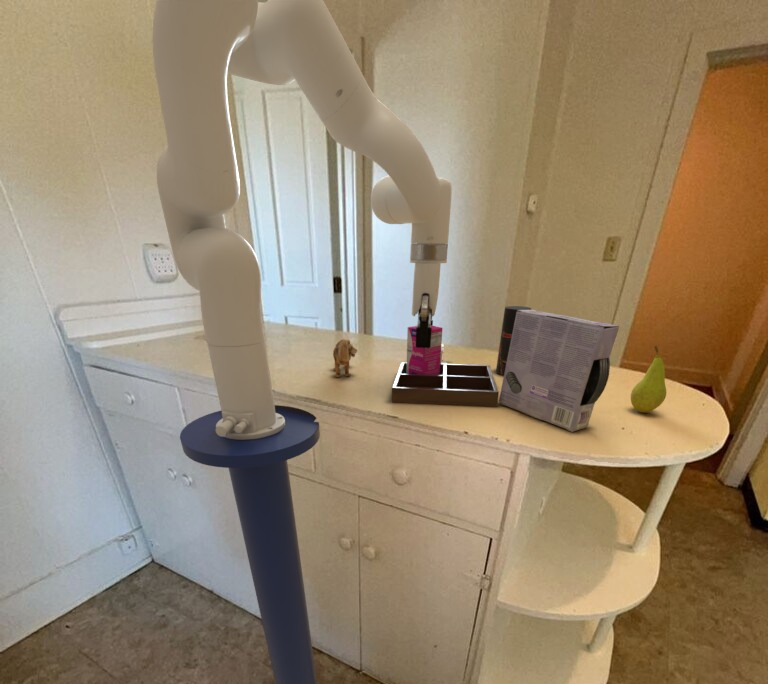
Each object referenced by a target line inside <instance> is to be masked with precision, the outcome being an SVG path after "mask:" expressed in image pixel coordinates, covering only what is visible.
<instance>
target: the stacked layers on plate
mask: <svg viewBox="0 0 768 684" xmlns="http://www.w3.org/2000/svg"><path fill="white" fill-rule="evenodd" d="M442 347H445V343H442V342H441V358H440V364H449V362H447V361H444V356H443V354H444V353H445V350H444V348H442Z"/></svg>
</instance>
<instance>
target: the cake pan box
mask: <svg viewBox="0 0 768 684" xmlns="http://www.w3.org/2000/svg"><path fill="white" fill-rule="evenodd" d="M619 329H620V327H619V325H617V324H611V323H605V322H599V321H593V320H589V319H583V318H579V317H575V316H570V315H563V314H556V313H552V312H546V311H540V310H536V309H531V310H517V313H516V318H515V323H514V328H513V333H512V338H511V343H510V348H509V353H508V358H507V363H506V368H505V373H504V375H503V379H502V384H501V388H500V389H501V390H500V392H499V393H500V394H499V397H498V402H499V403H498V404H500V405H502V406H505V407H508V408H511V409H513V410H516V411H518V412H520V413H523V415H527V416H530V417H532V418H535V419H537V420H539V421H544V422H546V423H549V424H552V425H555V426H557V427H560V428H563V429H565V430H567V431H568V432H571V433H574V432H577V431H580V430H584V429H586V428H588V427H589V423H590V420H591V417H592V413H593V410H594V407H595V404H596V403H597V401H598V400H599V399H600V398H601V396H602V394H603V392H604V391H605V389H606V386H607V384H608V381H609V377H610V370H611V361H610V357H611V353H612V351H613V348H614V344H615V342H616V338H617V336H618V332H619Z"/></svg>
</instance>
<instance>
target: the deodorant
mask: <svg viewBox="0 0 768 684" xmlns="http://www.w3.org/2000/svg"><path fill="white" fill-rule="evenodd" d="M517 310H532V308H531V307H529V306H521V305H509V306H508V305H507V306H505V307H504V312H503V318H502V324H501V325H502V326H501V331H500V332H501V333H500V340H499V347H498V354H497V361H496V367H495V374H498V375H500V376H504V373H505V368H506V363H507V358H508V353H509V348H510V343H511V338H512V333H513V328H514V323H515V318H516V313H517Z"/></svg>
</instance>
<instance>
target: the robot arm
mask: <svg viewBox="0 0 768 684" xmlns="http://www.w3.org/2000/svg"><path fill="white" fill-rule="evenodd" d="M336 23H337V22H335V20H334V18H333V16H332V14H331V12H330V11H329V9H328V7H327V5H326V3H325V2H324V0H266V1H265V2H260V1H259V0H155V7H154V11H153V19H152V55H153V64H154V72H155V78H156V84H157V90H158V95H159V101H160V108H161V113H162V114H161V115H162V118H163V124H164V128H165V135H166V143H167V145H165V147H163V149H161V152H160V154H159V156H158V159H157V163H156V184H157V190H158V195H159V200H160V204H161V209H162V212H163V217H164V220H165V221H164V222H165V225H166V230H167V234H168V238H169V243H170V246H171V250H172V254H173V258H174V262H175V264H176V268H177V269H178V271H179V274H180V275H181V276H182V278H183V279H184V280H185V282H186V283H188V285H190V287H192V288H193V289H195V290H197V291H198V292H199V300H200V311H201V320H202V325H203V331H204V336H205V341H206V344H207V345H206V346H207V348H208V355H209V359H210V362H211V368H212V373H213V378H214V382H215V386H216V387H215V388H216V391H217V396H218V401H219V405H220V411H222V416H223V418H222V419H221V420H220V421H218V423H217V424H216V433H217V435H219V436H220V437H225V438H229V439H235V440H251V439H259V438H264V437H268V436H271V435H274V434H276V433H278V432H280V431H281V430H282V429H283V428H284V427H285V419H284V417H283V416H282V415H280V414H278V413H275V405H276V404H275V399H274V392H273V385H272V379H271V370H270V364H269V356H268V349H267V342H266V341H267V340H266V336H265V329H264V322H263V321H264V319H263V312H262V311H263V310H262V309H263V308H262V275H261V268H260V263H259V259H258V257H257V254H256V252H255V250H254V248H253V247H252V245H251V244H250V243H249V242H248V241H247V240H246V238H244V237H243V236H242V235H241V234H240V233H237V232H236V231H234V230H232V229H229V228H227V224H226V218H225V215H226V214H228V213H230V212H231V211H233V210H234V208H236V205H237V204H238V202H239V199H240V195H241V181H240V174H239V168H238V161H237V154H236V149H235V143H234V142H235V141H234V137H233V129H232V128H233V127H232V122H231V116H230V108H229V98H228V75H232V76H236V77H239V78H243V79H247V80H250V81H253V82H254V81H255V82H259V83H264V84H267V85H274V86H285V85H286V86H287V85H289V84H291V83H294V82H296V84H297V85H298V87H299V89H300V90H301V91H302V93H303V94H304V96H305V97H306V99H307V100H308V102H309V103H310V106H311V107H312V108H313V110H314V111H315V113H316V114H317V116H318V118H319V119H320V121H321V122H322V125H323V126H324V127H325V129H326V130H327V132H328V133H329V135H330V137H331V138H332V139H333V140H334V141H335V142H336V143H338V144H339V145H340V146H343V147H344V148H346V149H348V150H350V151H352V152H355V153H357V154H360V155H362V156H364V157H366V158H368V159H370V160H371V161H373V162H374V163H375V164H376V165H378V166H379V167H380V168H381V169H382V170H384V172H386V174H387V175H386V176H383V177H382V178H380V179H379V180H378V181H377V182H376V183H375V185H374V186H373V188H372V190H371V194H370V207H371V209H372V212H373V214H374V215H375V216H376V218H377V219H378V220H379V221H381V222H383V223H385V224H388V225H404V224H410V226H411V227H410V254H409V258H410V259H409V263H412V264H414V271H413V282H412V283H413V284H412V286H413V287H412V307H411V315H412V317H416V315H417V325H416V326H417V327H416V347H417V348H430V346H431V330H432V328H430V326H431V325H432V326H434V325H433V323H434V320H433V317H434V316H435V315H436V310H437V305H438V298H439V291H440V289H439V288H440V278H441V266H442V264H447V261H448V260H447V259H448V251H449V250H448V248H449V236H450V235H449V234H450V220H451V208H452V193H453V192H452V191H453V187H452V182H451V181H450V180H449V179H447V178H445V177H440V176H439V177H438V175H437V172H436V170H435V168H434V165H433V163H432V161H431V159H430V157H429V155H428V154H427V151H426V148H425V147H424V146H423V144H422V141H420V140H419V138H418V136H417V135H416V133H414V132H413V131H412V129H410V127H409V126H408V125H407V124H406V123H404V121H402V120H401V119H400V117H398V116H397V115H396V114H395V113H394V112H393V111H392V110H391V109H390V108H388V106H386V105H385V104H384V103H382V102H381V100H379V99H378V98H377V97H376V96H375V94H374V93H373V90H372V89H371V88H370V86H369V84H368V82H367V80H366V78H365V76H364V74H363V72H362V71H361V68H360V67H359V65H358V63H357V61H356V60H355V57H354V56H353V54H352V51H351V49H350V48H349V46H348V44H347V42H346V41H345V39H344V36H343V34H342V32H341V31H340V29H339V27H338V25H337V24H336Z"/></svg>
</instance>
